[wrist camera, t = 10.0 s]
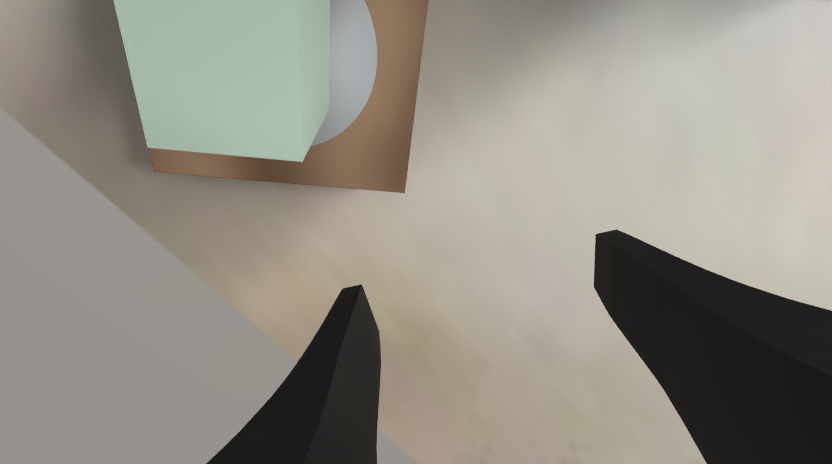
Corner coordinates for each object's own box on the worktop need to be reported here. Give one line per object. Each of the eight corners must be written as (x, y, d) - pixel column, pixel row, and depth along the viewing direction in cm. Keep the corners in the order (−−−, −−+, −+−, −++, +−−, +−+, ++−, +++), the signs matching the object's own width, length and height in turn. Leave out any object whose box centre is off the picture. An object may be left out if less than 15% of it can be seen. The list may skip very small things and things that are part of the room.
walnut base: (433, -94, 15) (442, -112, 13) (402, 172, 20) (404, 194, 18) (123, -150, 13) (69, -181, 11) (180, 152, 19) (152, 173, 17)
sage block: (330, -4, 14) (298, -7, 9) (329, 109, 16) (302, 162, 11) (212, -21, 13) (105, -35, 8) (226, 98, 15) (147, 147, 10)
